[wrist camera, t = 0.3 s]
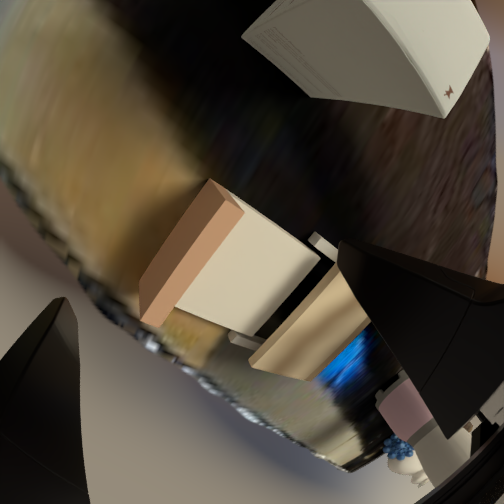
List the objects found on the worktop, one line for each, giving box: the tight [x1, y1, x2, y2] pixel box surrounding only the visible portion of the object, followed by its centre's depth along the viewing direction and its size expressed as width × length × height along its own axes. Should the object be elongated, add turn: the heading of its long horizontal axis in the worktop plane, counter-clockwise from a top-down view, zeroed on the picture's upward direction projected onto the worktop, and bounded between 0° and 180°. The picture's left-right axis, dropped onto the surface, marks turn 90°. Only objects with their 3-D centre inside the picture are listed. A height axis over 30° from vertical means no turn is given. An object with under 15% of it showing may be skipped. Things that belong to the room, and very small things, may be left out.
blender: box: [375, 370, 472, 488], centre depth 41 cm, size 16×12×32 cm
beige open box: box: [228, 232, 371, 381], centre depth 29 cm, size 11×13×4 cm
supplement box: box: [241, 0, 490, 118], centre depth 12 cm, size 7×7×13 cm
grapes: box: [383, 433, 414, 461], centre depth 76 cm, size 12×7×12 cm, turn 114°
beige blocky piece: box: [139, 178, 321, 337], centre depth 23 cm, size 12×10×5 cm
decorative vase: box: [388, 450, 429, 488], centre depth 82 cm, size 18×18×25 cm
